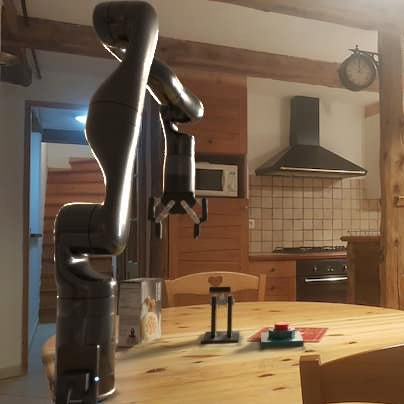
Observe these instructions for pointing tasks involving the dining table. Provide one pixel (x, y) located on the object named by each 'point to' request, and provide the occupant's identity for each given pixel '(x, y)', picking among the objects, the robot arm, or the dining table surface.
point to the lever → (221, 295)
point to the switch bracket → (215, 335)
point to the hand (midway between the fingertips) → (177, 238)
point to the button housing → (281, 338)
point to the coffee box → (139, 311)
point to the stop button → (281, 326)
